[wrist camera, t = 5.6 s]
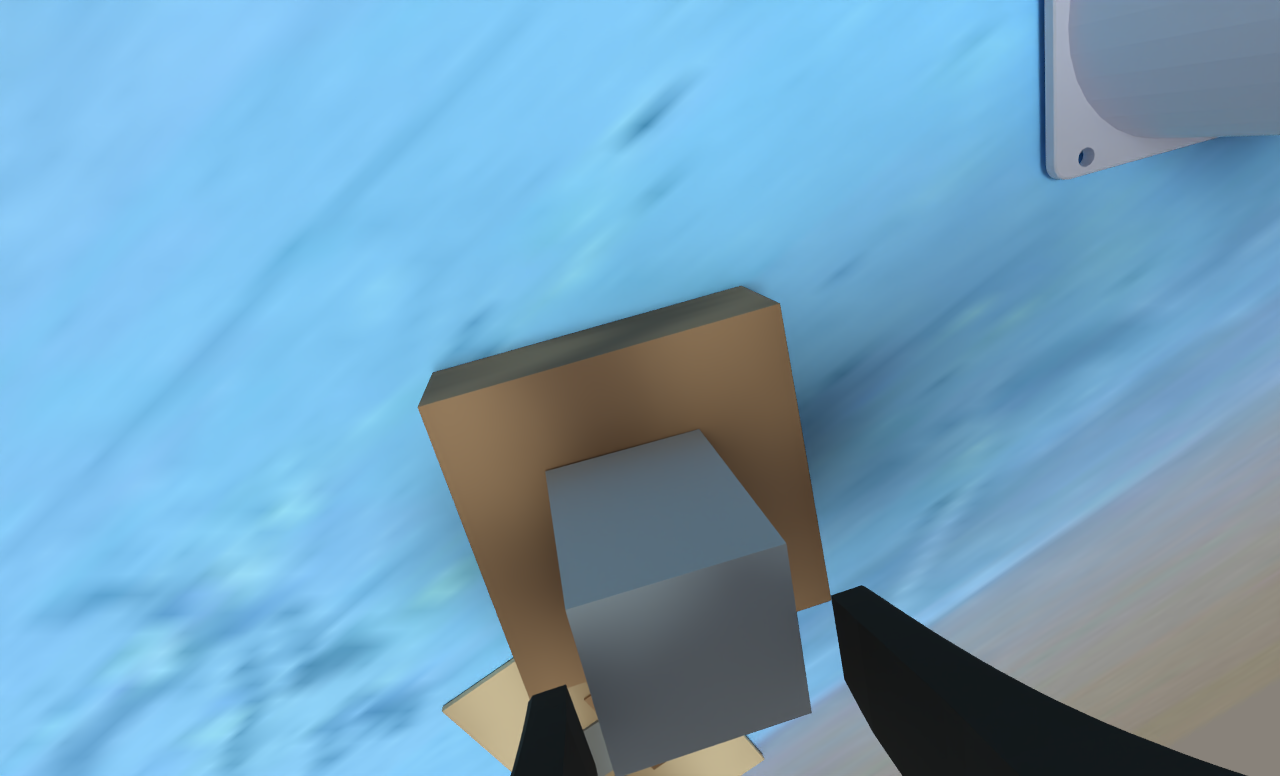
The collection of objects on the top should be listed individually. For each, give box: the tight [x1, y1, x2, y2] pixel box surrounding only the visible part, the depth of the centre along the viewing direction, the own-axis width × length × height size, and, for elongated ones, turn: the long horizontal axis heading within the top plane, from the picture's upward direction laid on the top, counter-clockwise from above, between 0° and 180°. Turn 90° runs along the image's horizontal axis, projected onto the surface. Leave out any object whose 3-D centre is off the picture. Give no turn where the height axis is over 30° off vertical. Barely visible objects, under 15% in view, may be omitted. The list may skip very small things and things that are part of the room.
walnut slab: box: [418, 286, 831, 699], centre depth 19 cm, size 9×9×3 cm
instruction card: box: [442, 658, 764, 776], centre depth 23 cm, size 7×10×1 cm
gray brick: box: [545, 429, 812, 776], centre depth 15 cm, size 4×4×6 cm
